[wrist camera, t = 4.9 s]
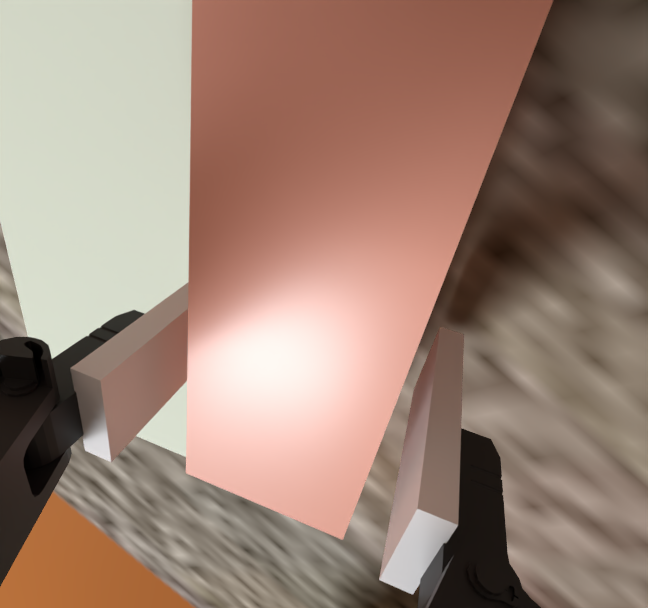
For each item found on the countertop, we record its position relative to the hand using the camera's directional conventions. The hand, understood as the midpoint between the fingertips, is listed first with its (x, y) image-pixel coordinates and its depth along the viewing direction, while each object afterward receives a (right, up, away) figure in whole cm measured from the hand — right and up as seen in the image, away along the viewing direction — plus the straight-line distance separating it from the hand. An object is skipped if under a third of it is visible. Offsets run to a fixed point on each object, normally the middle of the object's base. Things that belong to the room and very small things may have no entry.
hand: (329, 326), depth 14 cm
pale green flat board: (-10, +4, +4) cm, 11 cm away
